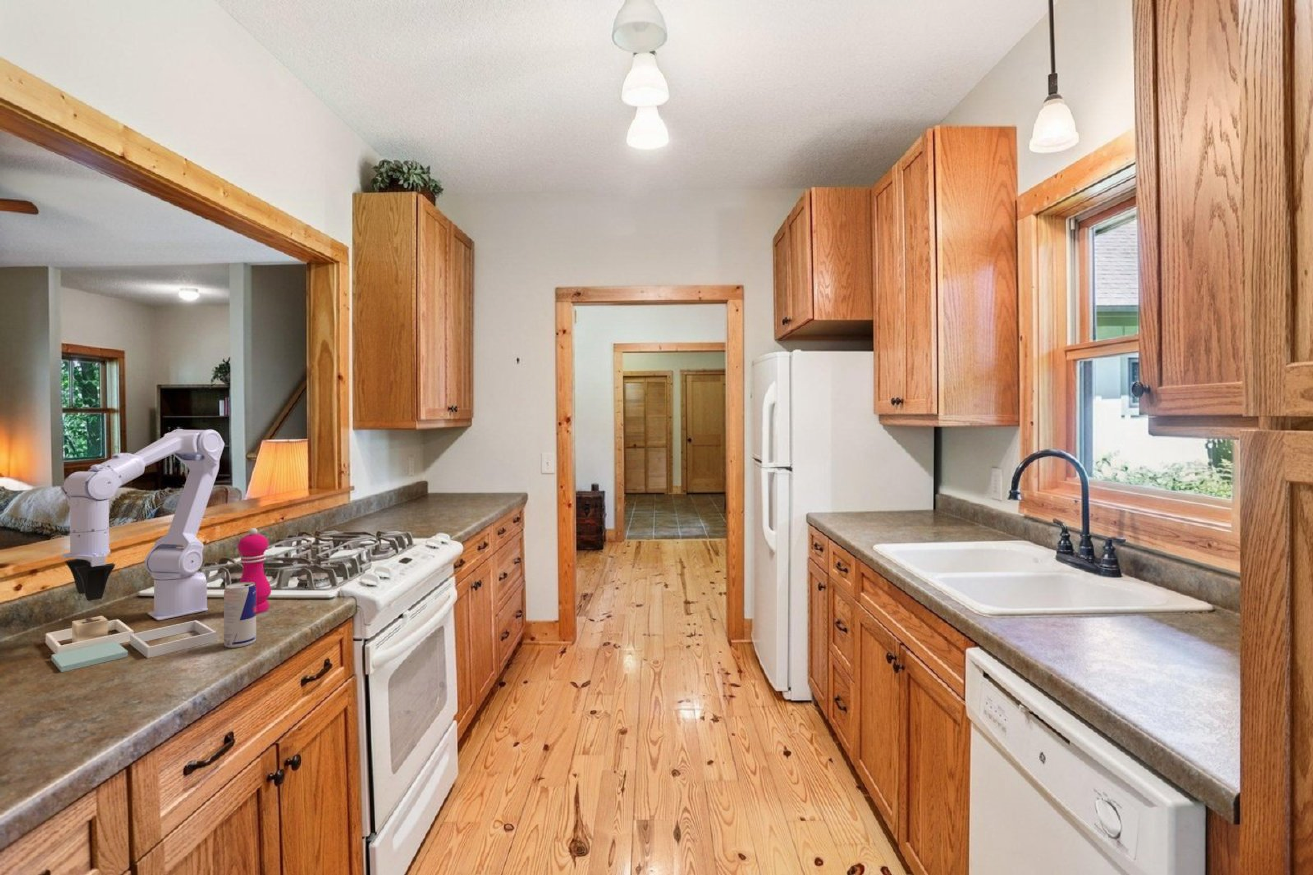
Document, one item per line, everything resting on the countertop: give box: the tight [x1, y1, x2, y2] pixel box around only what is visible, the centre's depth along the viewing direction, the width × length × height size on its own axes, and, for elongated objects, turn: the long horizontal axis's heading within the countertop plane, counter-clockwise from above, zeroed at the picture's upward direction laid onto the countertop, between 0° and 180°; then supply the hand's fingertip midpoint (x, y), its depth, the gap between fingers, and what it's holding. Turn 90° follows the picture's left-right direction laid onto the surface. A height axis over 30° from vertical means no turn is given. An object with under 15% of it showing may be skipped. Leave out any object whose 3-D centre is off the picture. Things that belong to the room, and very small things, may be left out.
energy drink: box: [223, 582, 257, 649], centre depth 118 cm, size 5×5×12 cm
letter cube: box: [71, 615, 109, 643], centre depth 118 cm, size 4×4×5 cm
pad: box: [51, 641, 129, 673], centre depth 110 cm, size 9×9×1 cm
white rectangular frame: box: [129, 619, 218, 659], centre depth 118 cm, size 11×12×2 cm
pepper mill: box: [237, 527, 272, 614], centre depth 139 cm, size 7×7×20 cm
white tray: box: [45, 619, 135, 654], centre depth 118 cm, size 11×12×2 cm
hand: (89, 596), depth 118 cm, fingers open, 7 cm apart
